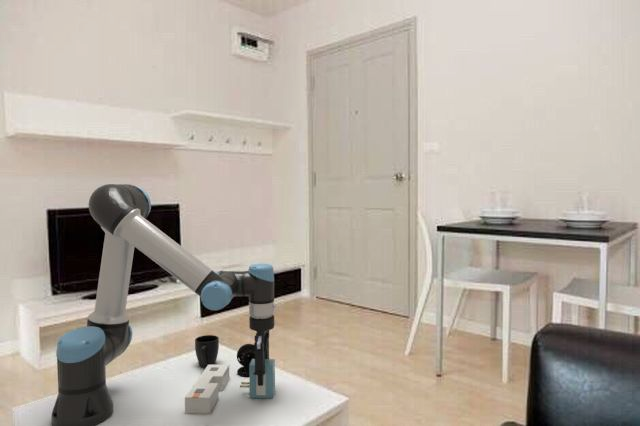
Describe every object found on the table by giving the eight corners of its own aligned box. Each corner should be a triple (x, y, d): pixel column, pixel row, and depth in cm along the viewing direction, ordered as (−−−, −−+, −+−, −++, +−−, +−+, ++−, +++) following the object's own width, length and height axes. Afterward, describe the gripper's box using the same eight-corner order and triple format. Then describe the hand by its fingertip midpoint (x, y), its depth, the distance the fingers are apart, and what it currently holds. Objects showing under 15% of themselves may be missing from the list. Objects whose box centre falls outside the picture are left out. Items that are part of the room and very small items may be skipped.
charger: (239, 397, 136) (238, 365, 135) (242, 390, 141) (242, 358, 140) (273, 398, 135) (273, 365, 135) (275, 390, 140) (275, 359, 140)
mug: (190, 373, 154) (189, 346, 154) (198, 360, 166) (198, 335, 166) (214, 373, 154) (213, 345, 154) (221, 360, 166) (220, 334, 166)
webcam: (238, 378, 150) (238, 348, 149) (235, 370, 157) (235, 341, 157) (261, 375, 152) (261, 346, 152) (257, 367, 159) (257, 339, 159)
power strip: (184, 413, 126) (184, 396, 126) (214, 368, 159) (214, 355, 158) (209, 413, 126) (209, 397, 126) (234, 368, 158) (234, 355, 158)
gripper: (270, 324, 128) (270, 404, 129) (277, 307, 146) (278, 378, 147) (243, 323, 128) (244, 404, 129) (254, 307, 146) (255, 378, 147)
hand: (262, 390), depth 138 cm, fingers closed on charger, 5 cm apart
